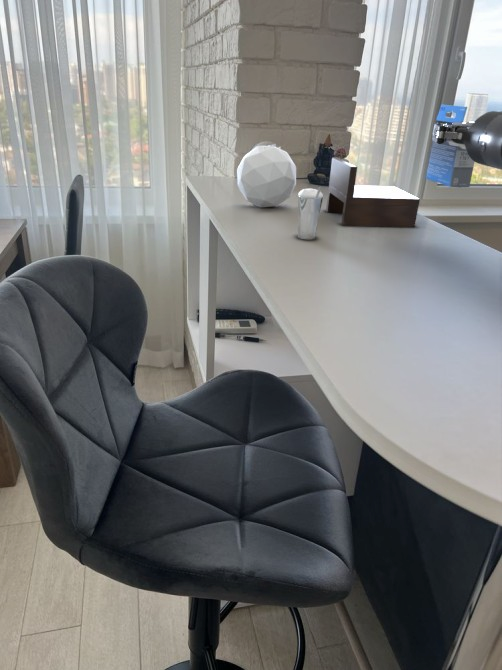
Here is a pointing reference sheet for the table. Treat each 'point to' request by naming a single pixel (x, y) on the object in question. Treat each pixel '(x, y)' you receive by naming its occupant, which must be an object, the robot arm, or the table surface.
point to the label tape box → (450, 155)
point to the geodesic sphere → (266, 176)
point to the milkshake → (309, 212)
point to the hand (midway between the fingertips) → (449, 131)
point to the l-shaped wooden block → (368, 200)
